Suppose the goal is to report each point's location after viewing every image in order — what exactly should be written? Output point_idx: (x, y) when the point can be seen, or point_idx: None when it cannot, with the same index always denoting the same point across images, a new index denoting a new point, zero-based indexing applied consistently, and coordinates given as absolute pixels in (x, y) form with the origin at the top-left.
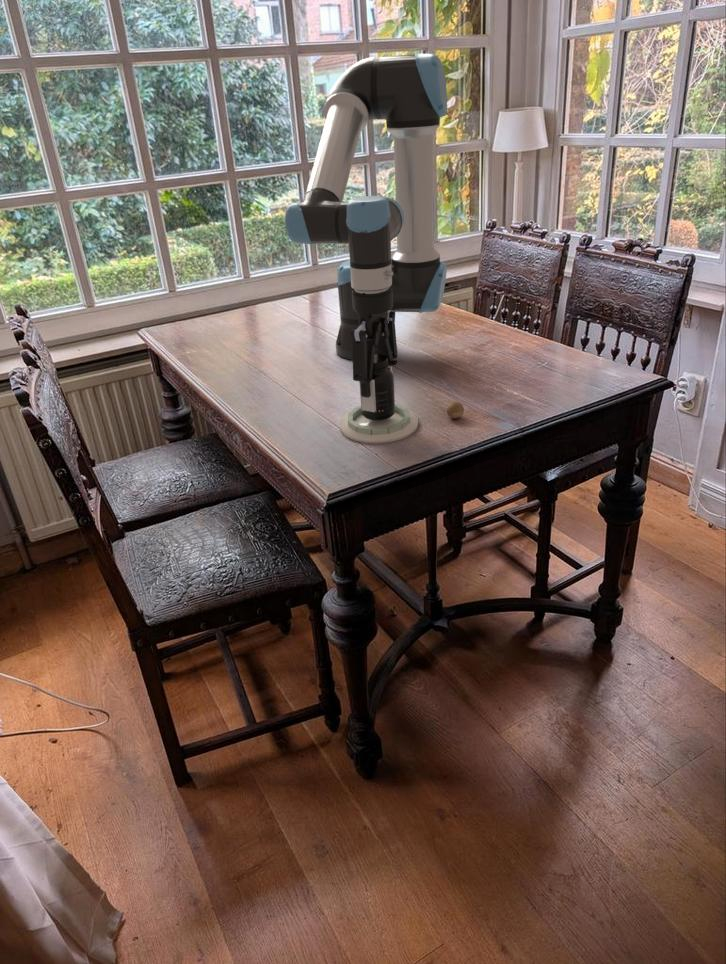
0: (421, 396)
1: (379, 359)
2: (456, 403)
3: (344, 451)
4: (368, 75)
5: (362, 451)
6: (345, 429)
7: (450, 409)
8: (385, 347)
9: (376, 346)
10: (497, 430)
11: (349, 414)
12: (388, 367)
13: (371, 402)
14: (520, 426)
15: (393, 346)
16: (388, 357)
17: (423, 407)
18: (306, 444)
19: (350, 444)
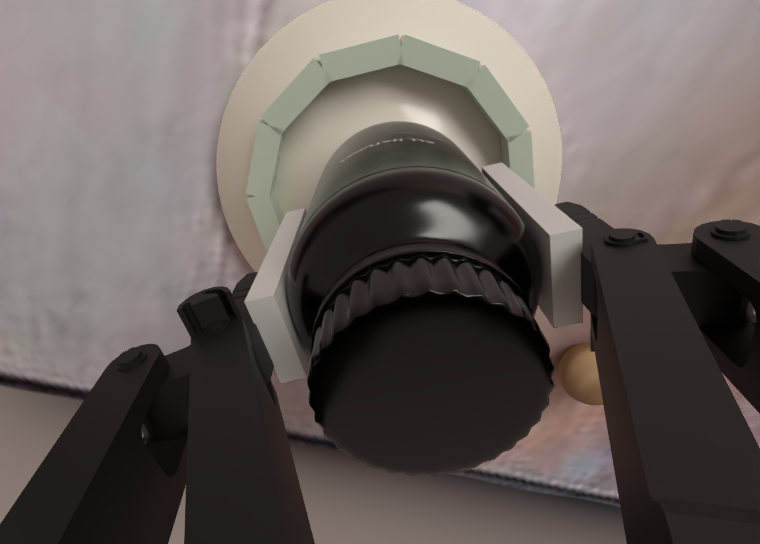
0: (728, 148)
1: (427, 437)
2: (599, 399)
3: (142, 225)
4: None
5: (194, 274)
6: (234, 127)
7: (569, 382)
8: (617, 458)
9: (621, 366)
10: (547, 464)
11: (316, 69)
12: (552, 315)
13: None
14: (594, 487)
15: (757, 404)
16: (597, 365)
17: (619, 224)
18: (36, 40)
19: (195, 205)
